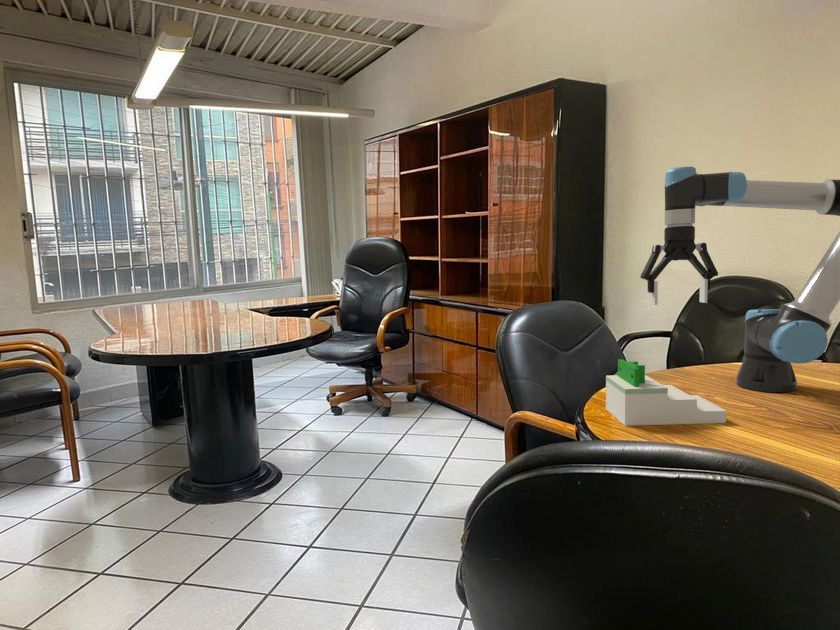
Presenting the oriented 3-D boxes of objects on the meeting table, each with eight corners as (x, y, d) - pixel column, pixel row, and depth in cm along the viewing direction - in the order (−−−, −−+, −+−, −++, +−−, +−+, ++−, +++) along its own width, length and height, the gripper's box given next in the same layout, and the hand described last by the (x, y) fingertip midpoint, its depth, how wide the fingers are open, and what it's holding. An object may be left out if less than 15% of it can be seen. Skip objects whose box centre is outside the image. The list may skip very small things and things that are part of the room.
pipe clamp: (649, 386, 130) (650, 368, 130) (634, 387, 131) (634, 368, 130) (632, 375, 142) (632, 358, 141) (617, 376, 142) (617, 358, 141)
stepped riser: (696, 406, 143) (697, 372, 142) (725, 423, 129) (727, 386, 128) (605, 408, 144) (605, 375, 143) (624, 425, 130) (625, 389, 129)
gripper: (717, 224, 151) (716, 300, 153) (628, 228, 151) (628, 304, 153) (733, 223, 143) (731, 302, 146) (639, 227, 144) (639, 306, 146)
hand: (678, 303), depth 150 cm, fingers open, 13 cm apart
